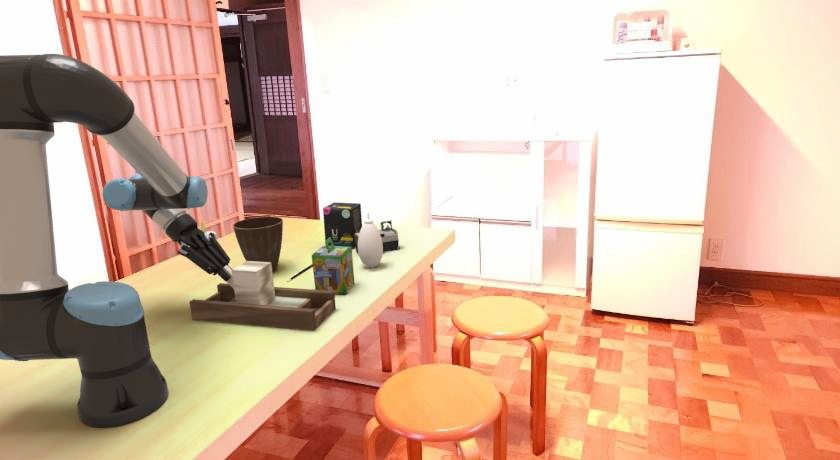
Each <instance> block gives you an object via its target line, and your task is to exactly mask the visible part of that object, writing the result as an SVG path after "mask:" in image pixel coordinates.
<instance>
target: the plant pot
mask: <svg viewBox="0 0 840 460" xmlns="http://www.w3.org/2000/svg"><path fill="white" fill-rule="evenodd" d="M283 223H284V219H283V218H281V217H279V216H278V217H277V216H258V217H251V218H246V219H242V220H239V221H236V222H234V223H233V225H232V228H233V230H234V234H235V237H236V240H237V244H238V245H239V249H240V252H241V253H242V256H243V258H244V260H245V262H247V261H255V262H271V265H272V273H274V272H276V271H277V270H278V266H279V261H280V256H281V249H282V243H283V231H284V230H283V228H284V227H283V226H284V224H283Z"/></svg>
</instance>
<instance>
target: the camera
mask: <svg viewBox="0 0 840 460" xmlns="http://www.w3.org/2000/svg"><path fill="white" fill-rule="evenodd" d="M392 221H393V220H385V221H381V222H380V229H378V231H379V233H380V236H381V239H382V244H383V253H388V252H392V251H394V252H395V251H398V249H399V241H400V240H399V234H398V230H397V229H395V228H393V224H392ZM386 223H387V225H386V227H385V225H384V224H386ZM358 237H359V233H355V238H354V239H355V251H356V253H357V254H358Z"/></svg>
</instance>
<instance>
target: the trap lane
mask: <svg viewBox="0 0 840 460" xmlns="http://www.w3.org/2000/svg"><path fill="white" fill-rule="evenodd" d="M216 288H217V292H215V293H214V294H212V295H211V296H209V297H208V298H206V299H196V298H195V299H192V300H190V301H189V308H190V312H191V319H192V321H203V322H213V323H222V324H234V325H244V326H245V325H246V326H254V327H255V326H256V327H257V326H258V327H269V328H279V329H287V330H288V329H289V330H302V331H309V330H311V332H313V331H315V330H316V329H317V328H318V327H319V326H321V324H323V322H325V321H326V320H327V318H328V317H329V316H330V315H332V313H334V311H336V310H337V309H336V308H337V307H336V296H335V295H336V294H334V291H326V290H315V289H312V288H311V289H310V288H308V289H307V288H298V287H297V288H294V287H281V286H280V287H279V286H274V290H275V298H276V299H274V300H273V301H272V302H270V303H269V304H268V305H257V304H245V303H236V299H235V292H234V289H233V288H232V287H231V286H230V285H229V284H228V283H227V282H226V283H224V282H221V283H218V284H217V285H216Z"/></svg>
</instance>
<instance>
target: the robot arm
mask: <svg viewBox="0 0 840 460" xmlns="http://www.w3.org/2000/svg"><path fill="white" fill-rule="evenodd" d="M57 123H73V124H77V125H81V126H83V127H84V128H85V129H86V130H87V131H88V132H89V133H91V134H92V135H95V136H99V137H100V136H101V137H102V138H103V139H104V140H105V141H106V142H107V144H108V145H110V146H111V147H112V148H113V149H114V150H115V151H116V152H117V154H119V155H120V157H122V158H123V159H124V160H125V161H126V162H127V163H128V164H129V165H130V166H131V167H132V169H134V170H135V171H136V172H137V173H134V174H133V175H131V176H129V178H126V177H125V178H124V177H123V178H121V177H119V178H114V179H111V180H109V181H108V182H107V183H106V184H105V185H104V187H103V188H102V199H103V201H104V203H105V204H106V206H107V207H108V208H110V209H111V210H114V211H119V212H127V211H142V212H144V214H145V215H146V216H147V217H148V218H150V219H151V221H153V222H154V223H155V224H156V225H157V226H158V227H159V228H160V229H161V231H164V232H165V233H164V234H166V236H168V238H169V239H170V240H171V241H173V242H174V243H178V245H179V246H180V247H179V249H178V250H177V254H178V255H180V256H183V257H185V258H186V259H188V260H189V261H190V262H192V263H193V264H195V266H198V267H199V268H200V269H201V270H203V271H204V272H205V273H206V274H208V275H213V276H217V275H218V276H219V277H220V279H222V280H223V281H224V282H226V284H229V285H230V286H231V287H232V288H233V289H234V284H233V277H232V270H233V269H234V268H232V267H231V266H230V265H229V264H230V261H231V258H230V257H229V255H228V254H227V253H226V251H225V250H224V248H223V247H222V246H221V244H220V243H219V241H218V240H217V237H216V238H215V235H214V233H212V232H213V231H212V232H210V234H205V233H204V232H203V231H202V230H201V228H199V227H198V223H197V220H196V219H194V218H193V216H192V215H190V214H189V213H187V211H186V210H187V209H188V210H190V209H196V208H197V209H198V208H202V207H204V206H205V205H206V203H207V201H208V194H209V193H208V191H209V190H208V185H207V182H206V181H205V179H204V178H203V177H201V176H194V175H191V176H188V175H187V174H186V173H185V171H183V169H182V168H181V167H180V165H178V162H176V161H175V160H174V158H173V157H172V156H171V155H170V154H169V152H168V150H166V149H165V147H163V145H162V143H160V141H158V139H157V138H156V137H155V135H154V134H153V133H152V132H151V131H150V130H149V128H148V127H147V126H146V125H145V123H144V122H143V121H142V120H141V118H140V117H139V116H138V114H136V107H135V104H134V102H133V100H132V99H131V98H130V96H129V95H128V94H127V93H126V91H124V89H122V87H121V86H119V84H117V83H116V82H115V81H114V80H112V79H111V78H110V77H109V76H108V75H106V74H105V73H103V72H102V71H100V70H99V69H97V68H95V67H93V66H92V65H90V64H89V63H86V62H84V61H82V60H80V59H78V58H74V57H72V56H68V55H65V54H61V53H58V54H57V53H44V54H16V55H15V54H13V55H0V360H4V361H16V362H28V361H39V360H41V361H42V360H43V361H44V360H67V359H75V360H76V359H77V362H78V363H77V364H78V366H79V370H80V371H79V372H80V373H81V379H80V380H81V381H80V390H79V397H78V400H77V405H76V406H77V408H76V409H77V412H78V413H77V414H78V418H79V420H80V422H82V424H84V425H86V426H89V427H92V428H110V427H118V426H122V425H125V424H129V423H132V422H134V421H137V420H139V419H142V418H144V417H146V416H147V415H148V416H149V415H150V414H152V413H153V412H155V411H156V410H157V409H159V408H160V407H161V406H162V405H163V404H164V403H165V402H166V400H167V398H168V396H169V388H168V387H169V386H168V383H167V380H166V378H165V377H164V375H163V374H162V372H161V371H160V368H159V367H158V365H157V364H156V362H155V361H154V359H153V357H152V353H151V346H150V342H149V336H148V331H147V330H148V329H147V324H146V319H145V315H144V314H145V308H144V306H143V304H142V301H141V298H140V294H139V292H138V291H137V290H136V289H135V288H134V287H133V286H132V285H130V284H127V283H125V282H119V281H111V280H110V281H108V280H107V281H106V280H105V281H104V280H103V281H96V282H95V283H91V282H88V283H83V284H79V285H77V286H74V287H71V288H70V289H69V282H68V280H66V279H65V278H64V277H62V276H60V275H59V274H58V264H57V255H56V254H57V252H56V244H55V234H54V219H53V210H52V209H53V208H52V202H51V201H52V200H51V199H52V198H51V187H50V178H49V167H48V156H47V143H48V142H49V141H50V140H51V139H52V138H53V137H54V136H55V135H56V134H55V124H57Z"/></svg>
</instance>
